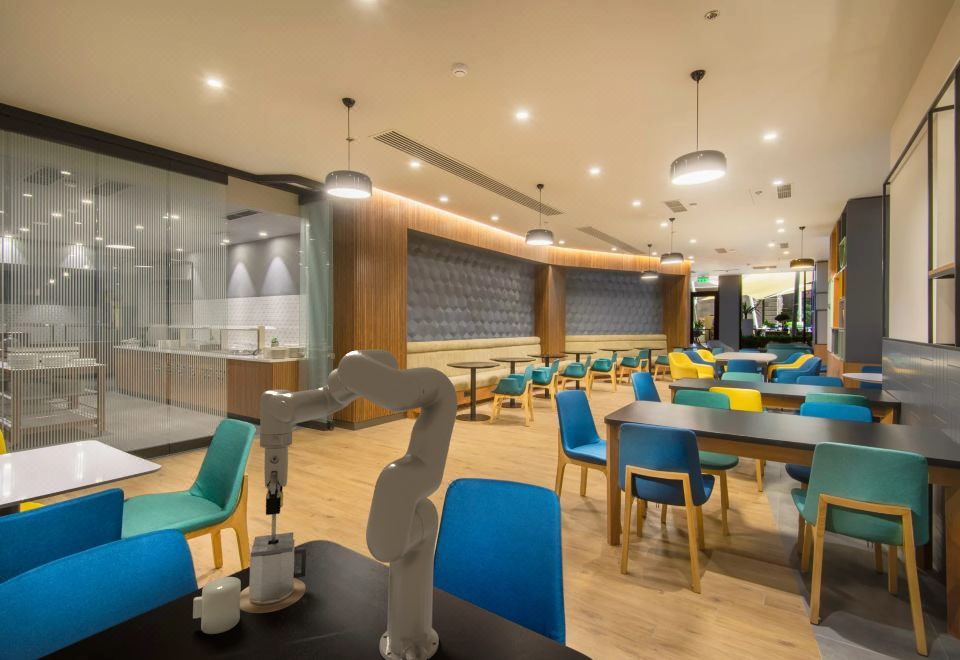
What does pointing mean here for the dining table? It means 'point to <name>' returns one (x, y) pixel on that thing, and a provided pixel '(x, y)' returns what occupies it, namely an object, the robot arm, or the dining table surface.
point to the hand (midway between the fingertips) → (274, 506)
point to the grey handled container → (273, 569)
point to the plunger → (273, 532)
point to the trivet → (297, 594)
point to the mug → (218, 605)
